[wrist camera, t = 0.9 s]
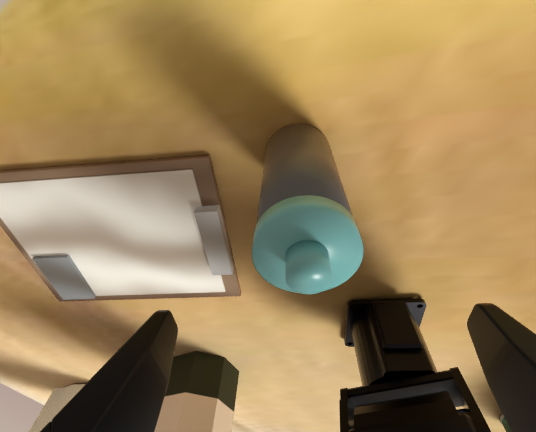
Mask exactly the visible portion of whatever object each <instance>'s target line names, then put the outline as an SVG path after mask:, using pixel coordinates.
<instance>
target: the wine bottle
mask: <svg viewBox="0 0 536 432" xmlns="http://www.w3.org/2000/svg"><path fill="white" fill-rule="evenodd" d="M238 375H239V371H238V370H237V369H236V368H235V367H234V366H233V365H232V364H231V363H230V362H229V361H228V360H227V359H225V358H224V357H219V356H215V355H210V354H206V353H201V352H192V353H188V354H184V355H180V356H176V357H173V361H172V367H171V372H170V377H169V382H168V386H167V390H166V393H165V397H164V400H163V404H162V407H161V411H160V414H159V418H158V421H157V425H156V428H155V432H232V424H233V416H234V407H235V399H236V391H237V383H238Z"/></svg>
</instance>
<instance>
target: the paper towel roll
mask: <svg viewBox="0 0 536 432" xmlns="http://www.w3.org/2000/svg"><path fill="white" fill-rule="evenodd" d="M84 385H85V384H73V385H70V386H67V387H62V388H55V389H54V391H53V392H52V394H51V396H50V397H49V399H48V401H47V402H46V404H45V406H44V407H43V409H42V411H41V412H40V414H39V416H38V417H37V419H36V421H35V422H34V424H33V426H32V427H31V429H30V431H29V432H40V431H41V430H42V429H43V428H44V427H45V426H46V425H47V424H48V423H49V422H50V421H51V422H52V419H53V418H54V417H55V416H56V414H57V413H58V412H59V411H60V410H61V409H62V408H63V407H64V406H65V405H66V404H67V403H68V402H69V401H70V400H71V399H72V398H73V397H74V396H75V395H76V394H77V393H78V392H79V391H80V390H81V389H82V387H83V386H84Z"/></svg>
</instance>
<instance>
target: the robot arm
mask: <svg viewBox="0 0 536 432" xmlns="http://www.w3.org/2000/svg"><path fill="white" fill-rule="evenodd" d="M425 308H426V303H425V301H424V300H423V299H420V298H419V299H382V300H352V301H349V302H348V304H347V313H346V325H345V337H344V341H345V345H346V346H349V347H355V352H356V357H357V362H358V366H359V371H360V376H361V381H362V386H361V387H356V388H351V389H348V388H344V389H340V395H341V400H340V432H491V431H490V429H489V427H488V425H487V423H486V421H485V419H484V417H483V415H482V413H481V411H480V409H479V407H478V405H477V403H476V402H475V400H474V398H473V396H472V394H471V392H470V390H469V388H468V386H467V384H466V382H465V380H464V378H463V376H462V375H461V373H460V371H459V369H458V367H455V368H450V370H447V371H442V372H437V370H436V367H435V365H434V363H433V360H432V358H431V355H430V353H429V351H428V348H427V346H426V343H425V341H424V339H423V336H422V334H421V331H420V329H419V326H420V323H421V320H422V317H423V314H424V311H425ZM467 327H468V331H469V333H470V336H471V339H472V342H473V344H474V347H475V350H476V353H477V355H478V358H479V361H480V364H481V366H482V369H483V372H484V375H485V377H486V380H487V382H488V384H489V387H490V389H491V391H492V393H493V395H494V397H495V399H496V402H497V404H498V406H499V408H500V410H501V412H502V414H503V416H504V418H505V420H506V422H507V424H508V426H509V428H510V431H511V432H536V334H535V333H533V332H532V331H531V330H529V329H528V328H526V327H525V326H524V325H522V324H521V323H520V322H518V321H517V320H515V319H514V318H513V317H511V316H510V315H508V314H507V313H506V312H504V311H503V310H502V309H500V308H499V307H497V306H496V305H494V304H491V303H479V304H476V305H475V306H474V308H473V310H472V312H471V314H470V316H469V319H468V321H467ZM177 333H178V328H177V324H176V322H175V320H174V318H173V315H172V313H171V312H170V311H169V310H159V311H156V312H155V313H154V314H153V315H152V316H151V317H150V318H149V319H148V320H147V321H146V322H145V323H144V324H143V325H142V326H141V327H140V328H139V329H138V330H137V331H136V332H135V333H134V335H133V336H132V337H131V338H130V339H129V340H128V341H127V342H126V343H125V344H124V345H123V346H122V347H121V348H120V349H119V350H118V351H117V352H116V353H115V354H114V355H113V356H112V357H111V358H110V359H109V360H108V362H107V363H106V364H105V365H104V366H103V367H102V368H101V369H100V370H99V371H98V372H97V373H96V374H95V375H94V376H93V377H92V378H91V379H90V380H89V381H88V382H87V383H86V384H85V385H84V386H83V387H82V389H81V390H80V391H79V392H78V393H77V394H76V395H75V396H74V397H73V398H72V399H71V400H70V401H69V402H68V403H67V404H66V405H65V406H64V407H63V408H62V409H61V410H60V411H59V412H58V413H57V414H56V416H55V417H54V418H53V419H52V422H51V421H50V422H49V423H48V424H47V425H46V426H45V427H44V428H43V429H42V430H41V431H40V432H155V428H156V425H157V421H158V418H159V414H160V411H161V407H162V404H163V400H164V397H165V393H166V390H167V386H168V382H169V377H170V372H171V367H172V361H173V355H174V350H175V344H176V339H177ZM459 406H463V407H464V409H459V410H456V408H455V407H459Z"/></svg>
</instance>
